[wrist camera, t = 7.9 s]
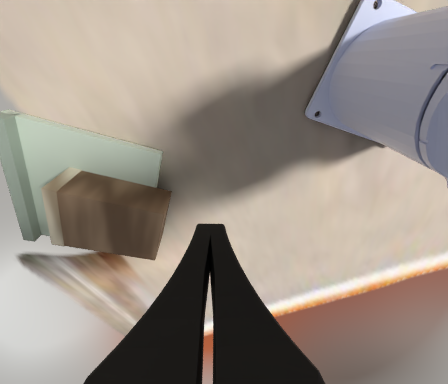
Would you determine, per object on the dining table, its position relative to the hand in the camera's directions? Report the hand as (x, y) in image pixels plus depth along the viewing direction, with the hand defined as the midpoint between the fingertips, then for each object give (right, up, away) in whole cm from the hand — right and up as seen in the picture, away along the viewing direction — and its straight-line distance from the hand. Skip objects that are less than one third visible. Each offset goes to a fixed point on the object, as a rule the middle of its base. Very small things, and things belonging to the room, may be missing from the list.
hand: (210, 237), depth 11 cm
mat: (-12, +2, +10) cm, 16 cm away
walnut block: (-5, -1, +9) cm, 11 cm away
